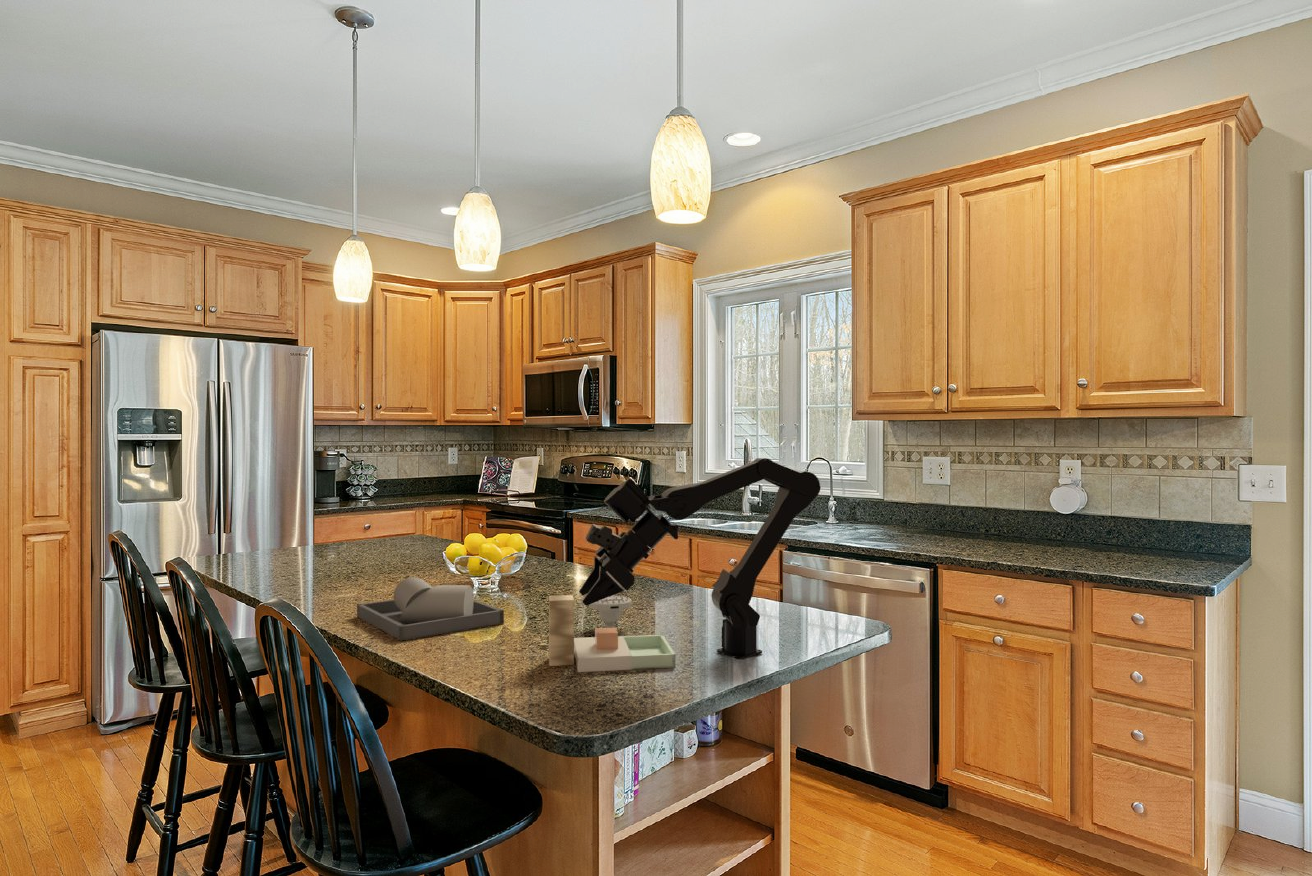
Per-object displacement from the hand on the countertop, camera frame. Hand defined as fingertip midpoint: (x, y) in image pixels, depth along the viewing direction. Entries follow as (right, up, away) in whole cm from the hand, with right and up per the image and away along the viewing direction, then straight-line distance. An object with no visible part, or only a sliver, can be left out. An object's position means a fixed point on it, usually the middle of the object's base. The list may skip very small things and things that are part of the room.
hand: (582, 598), depth 145 cm
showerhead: (+4, -12, +25) cm, 28 cm away
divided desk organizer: (-38, -12, +32) cm, 51 cm away
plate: (+4, -12, +1) cm, 12 cm away
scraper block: (-4, -12, -1) cm, 12 cm away
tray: (+12, -12, +2) cm, 17 cm away
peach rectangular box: (+5, -9, +1) cm, 10 cm away
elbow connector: (-38, -11, +32) cm, 51 cm away
